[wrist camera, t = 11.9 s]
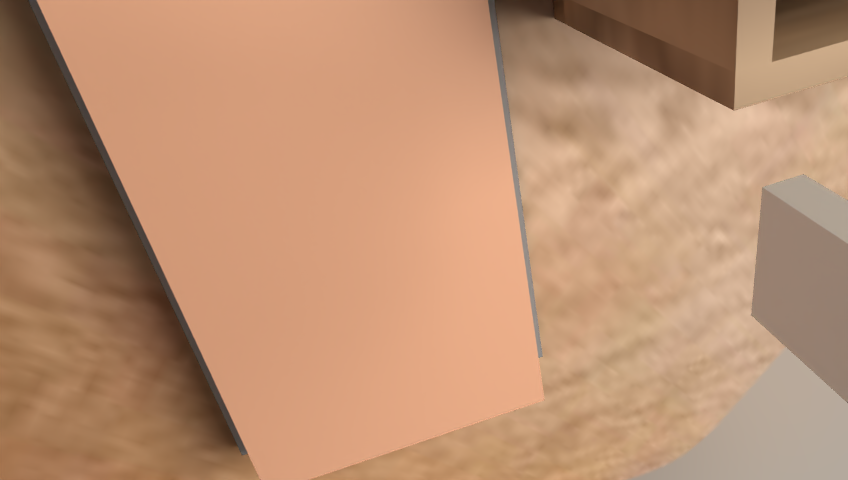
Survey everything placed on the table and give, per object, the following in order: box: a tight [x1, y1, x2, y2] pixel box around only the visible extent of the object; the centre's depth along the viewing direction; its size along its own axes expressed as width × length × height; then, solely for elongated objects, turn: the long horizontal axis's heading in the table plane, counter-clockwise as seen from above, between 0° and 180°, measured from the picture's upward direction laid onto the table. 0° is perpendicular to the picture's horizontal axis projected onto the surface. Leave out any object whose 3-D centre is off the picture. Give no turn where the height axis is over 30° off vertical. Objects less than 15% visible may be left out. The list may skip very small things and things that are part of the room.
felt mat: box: [28, 0, 543, 455], centre depth 22 cm, size 22×12×1 cm, turn 11°
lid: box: [37, 0, 544, 480], centre depth 21 cm, size 10×22×2 cm, turn 11°
